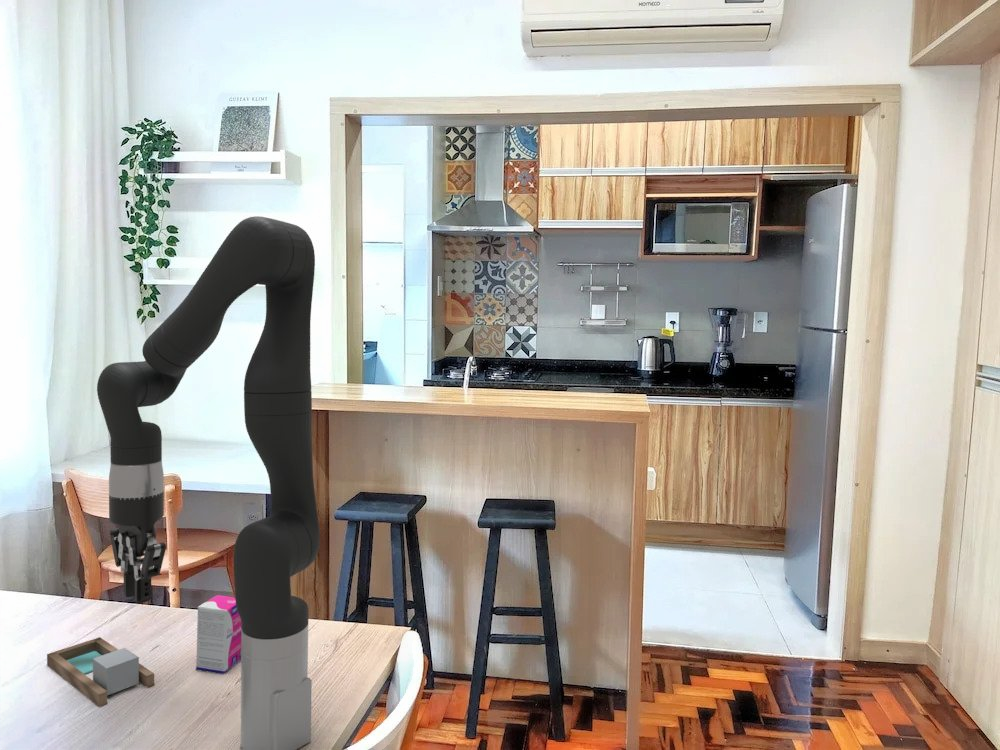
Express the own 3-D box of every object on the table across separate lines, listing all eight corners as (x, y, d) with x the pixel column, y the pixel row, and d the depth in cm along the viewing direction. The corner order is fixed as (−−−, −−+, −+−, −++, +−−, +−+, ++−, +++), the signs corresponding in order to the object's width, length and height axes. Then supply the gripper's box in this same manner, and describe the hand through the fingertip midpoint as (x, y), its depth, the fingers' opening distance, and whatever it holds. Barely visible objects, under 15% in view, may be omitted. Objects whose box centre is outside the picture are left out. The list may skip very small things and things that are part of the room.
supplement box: (225, 675, 118) (225, 610, 117) (195, 670, 119) (195, 606, 118) (244, 659, 123) (245, 597, 123) (215, 655, 125) (215, 593, 124)
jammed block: (138, 683, 113) (138, 656, 113) (106, 695, 109) (106, 668, 109) (124, 673, 116) (124, 647, 116) (93, 685, 112) (92, 658, 112)
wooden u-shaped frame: (154, 684, 114) (154, 673, 114) (99, 706, 107) (98, 694, 107) (99, 647, 126) (99, 637, 126) (47, 665, 119) (47, 654, 119)
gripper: (183, 493, 105) (184, 603, 106) (139, 479, 113) (140, 580, 114) (133, 502, 99) (134, 618, 100) (90, 486, 107) (91, 593, 108)
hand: (137, 597), depth 107 cm, fingers open, 3 cm apart
